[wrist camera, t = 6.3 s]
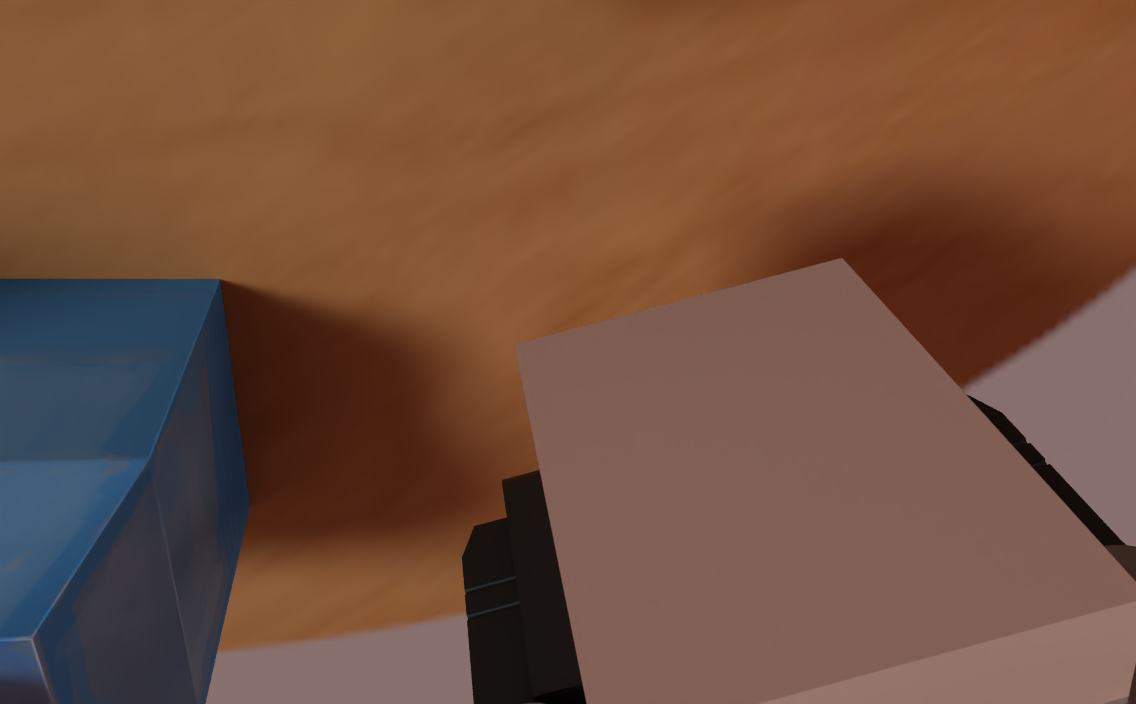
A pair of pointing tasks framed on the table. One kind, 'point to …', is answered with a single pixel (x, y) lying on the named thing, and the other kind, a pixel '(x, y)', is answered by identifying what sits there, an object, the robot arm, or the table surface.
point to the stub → (807, 514)
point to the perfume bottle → (116, 489)
